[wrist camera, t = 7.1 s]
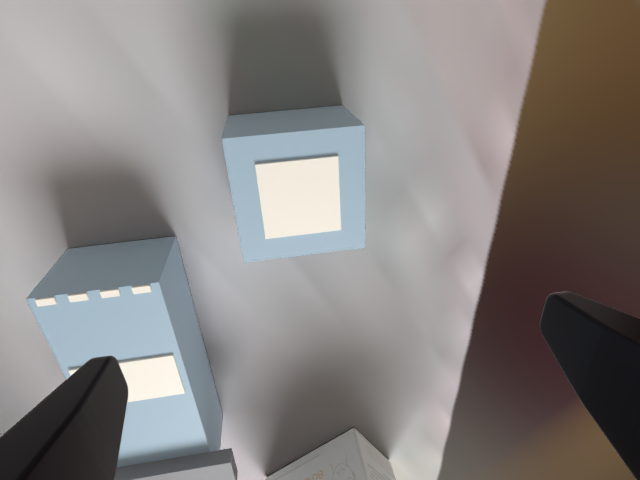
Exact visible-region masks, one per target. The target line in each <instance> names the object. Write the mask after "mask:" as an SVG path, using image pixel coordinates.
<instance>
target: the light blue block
mask: <svg viewBox="0 0 640 480" xmlns="http://www.w3.org/2000/svg"><path fill="white" fill-rule="evenodd" d="M222 144H223V150H224V155H225V161H226V166H227V172H228V178H229V183H230V189H231V195H232V200H233V206H234V212H235V217H236V223H237V229H238V234H239V240H240V245H241V251H242V257H243V262H244V263H247V262H255V261H263V260H271V259H279V258H287V257H295V256H303V255H311V254H319V253H327V252H335V251H343V250H351V249H359V248H365V125H364V124H363V123H362V122H361V121H359V120H358V119H357V118H356V117H355V116H354V115H353V114H352V113H351V112H350V111H349V110H347V109H346V108H345V107H344V106H343V105H340V106H329V107H318V108H307V109H296V110H284V111H273V112H262V113H251V114H240V115H229V116H228V118H227V121H226V125H225V129H224V132H223V136H222Z"/></svg>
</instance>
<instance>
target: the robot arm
mask: <svg viewBox="0 0 640 480" xmlns="http://www.w3.org/2000/svg"><path fill="white" fill-rule="evenodd" d="M540 329H541V333H542V335H543V337H544V339H545V340H546V342H547V344H548V346H549V347H550V349H551V351H552V353H553V354H554V356H555V358H556V359H557V361H558V363H559V365H560V366H561V368H562V370H563V372H564V373H565V375H566V377H567V379H568V380H569V382H570V384H571V386H572V387H573V389H574V391H575V392H576V394H577V396H578V397H579V399H580V400H581V402H582V403H583V404H584V406H585V408H586V409H587V410H588V412H589V413H590V415H591V416H592V417H593V419H594V420H595V422H596V423H597V424H598V426H599V427H600V429H601V430H602V432H603V433H604V435H605V436H606V437H607V439H608V440H609V441H610V443H611V444H612V446H613V447H614V449H615V450H616V451H617V453H618V454H619V456H620V457H621V459H622V460H623V461H624V463H625V464H626V466H627V467H628V468H629V470H630V471H631V473H632V474H633V476H634V477H635V478H636V480H640V319H639V318H636V317H634V316H631V315H629V314H626V313H623V312H621V311H618V310H616V309H613V308H611V307H608V306H605V305H603V304H600V303H598V302H595V301H593V300H590V299H588V298H585V297H583V296H580V295H577V294H575V293H573V292H569V291H565V292H558V293H552V294H550V295H549V296H548V297H547V299H546V302H545V306H544V310H543V313H542V317H541V321H540ZM127 401H128V385H127V382H126V380H125V378H124V375H123V373H122V370H121V368H120V365H119V363H118V361H117V359H116V358H115V357H114V356H103V357H96V358H92V359H90V360H88V361H87V362H86V363H85V364H84V365H83V366H81V367H80V368H79V369H78V370H77V371H76V372H75V373H73V374H72V375H71V376H70V377H69V378H68V379H67V380H65V381H64V382H63V383H62V384H61V385H60V386H59V387H57V388H56V389H55V390H54V391H53V392H52V393H51V394H49V395H48V396H47V397H46V398H45V399H44V400H43V401H41V402H40V403H39V404H38V405H37V406H36V407H35V408H33V409H32V410H31V411H30V412H29V413H28V414H27V415H25V416H24V417H23V418H22V419H21V420H20V421H19V422H17V423H16V424H15V425H14V426H13V427H12V428H11V429H9V430H8V431H7V432H6V433H5V434H4V435H3V436H1V437H0V480H114V478H115V473H116V468H117V463H118V457H119V450H120V444H121V438H122V432H123V425H124V419H125V413H126V407H127Z"/></svg>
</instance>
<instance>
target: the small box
mask: <svg viewBox="0 0 640 480" xmlns="http://www.w3.org/2000/svg"><path fill="white" fill-rule="evenodd" d="M265 480H396V479H395V476H394V473H393V470H392V466H391V463H390V462H389V461H388V460H387V459H386V458H385V457H384V456H383V455H382V454H381V453H380V452H379V451H378V450H377V449H376V448H375V447H374V446H373V445H372V444H371V443H370V442H369V441H368V440H367V439H366V438H365V437H363V436H362V435H361V434H360V433H359V432H358V431H357V430H356V429H355V428H352V429H350V430H349V431H347V432H345V433H344V434H342V435H340V436H338V437H336V438H335V439H333V440H331V441H329V442H328V443H326V444H324V445H322V446H321V447H319V448H317V449H315V450H314V451H312V452H310V453H308V454H307V455H305V456H303V457H301V458H300V459H298V460H296V461H294V462H293V463H291V464H289V465H287V466H286V467H284V468H282V469H280V470H279V471H277V472H275V473H273V474H272V475H270V476H268V477H267V478H266V479H265Z"/></svg>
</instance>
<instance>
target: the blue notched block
mask: <svg viewBox="0 0 640 480" xmlns="http://www.w3.org/2000/svg"><path fill="white" fill-rule="evenodd" d="M26 300H27V302H28V304H29V306H30V308H31V310H32V312H33V314H34V316H35V318H36V320H37V322H38V324H39V326H40V328H41V330H42V332H43V334H44V336H45V338H46V340H47V342H48V344H49V346H50V348H51V350H52V352H53V354H54V356H55V358H56V360H57V362H58V364H59V366H60V367H61V369H62V371H63V373H64V375H65V377H66V379H68V378H69V377H70V376H71V375H72V374H73V373H75V372H76V371H77V370H78V369H79V368H80V367H81V366H83V365H84V364H85V363H86V362H87V361H88V360H90V359H92V358H96V357H103V356H114V357H115V358H116V359H117V361H118V363H119V365H120V368H121V370H122V373H123V375H124V378H125V380H126V382H127V385H128V401H127V407H126V413H125V419H124V425H123V432H122V438H121V444H120V450H119V457H118V463H117V468H116V473H115V478H114V480H237V467H236V464H235V460H234V456H233V452H232V448H230V449H224V450H220V445H221V432H222V420H223V414H222V410H221V406H220V403H219V399H218V395H217V391H216V387H215V384H214V380H213V376H212V372H211V368H210V364H209V361H208V357H207V353H206V349H205V345H204V342H203V338H202V334H201V330H200V326H199V322H198V319H197V315H196V311H195V307H194V303H193V300H192V296H191V292H190V288H189V284H188V281H187V277H186V273H185V269H184V265H183V261H182V258H181V254H180V250H179V246H178V242H177V239H176V236H172V237H163V238H155V239H146V240H138V241H129V242H120V243H112V244H103V245H95V246H86V247H78V248H69V249H67V250H66V251H65V252H64V254H63V255H62V256H61V257H60V258H59V260H58V261H57V262H56V263H55V264H54V266H53V267H52V268H51V269H50V270H49V272H48V273H47V274H46V275H45V277H44V278H43V279H42V280H41V281H40V283H39V284H38V285H37V286H36V287H35V289H34V290H33V291H32V292H31V293H30V295H29V296H28V297H27V298H26Z"/></svg>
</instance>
